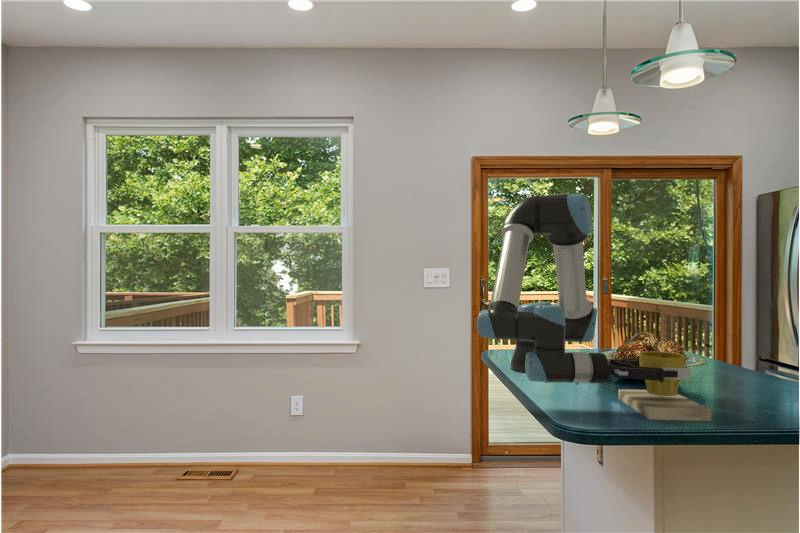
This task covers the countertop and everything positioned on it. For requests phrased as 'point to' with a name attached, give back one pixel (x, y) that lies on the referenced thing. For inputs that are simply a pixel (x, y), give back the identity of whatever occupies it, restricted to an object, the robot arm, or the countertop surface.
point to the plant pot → (658, 361)
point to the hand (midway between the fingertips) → (678, 369)
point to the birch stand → (664, 406)
